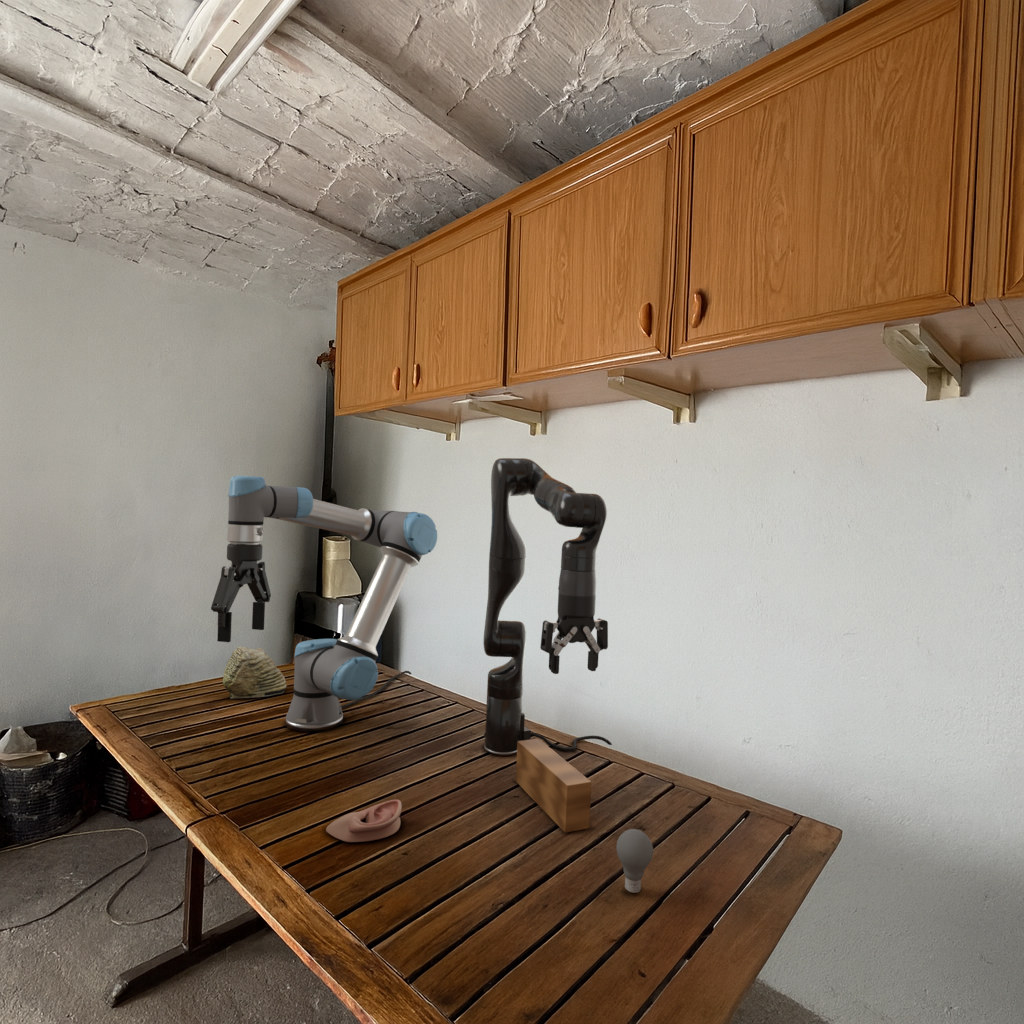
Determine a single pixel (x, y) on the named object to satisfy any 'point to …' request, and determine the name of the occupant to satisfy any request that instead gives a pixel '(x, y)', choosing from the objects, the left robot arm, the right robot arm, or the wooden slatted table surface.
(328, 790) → the wooden slatted table surface
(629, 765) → the wooden slatted table surface
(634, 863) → the light bulb
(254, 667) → the fossil
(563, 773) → the bar
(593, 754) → the wooden slatted table surface
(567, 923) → the wooden slatted table surface
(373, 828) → the anatomical model
